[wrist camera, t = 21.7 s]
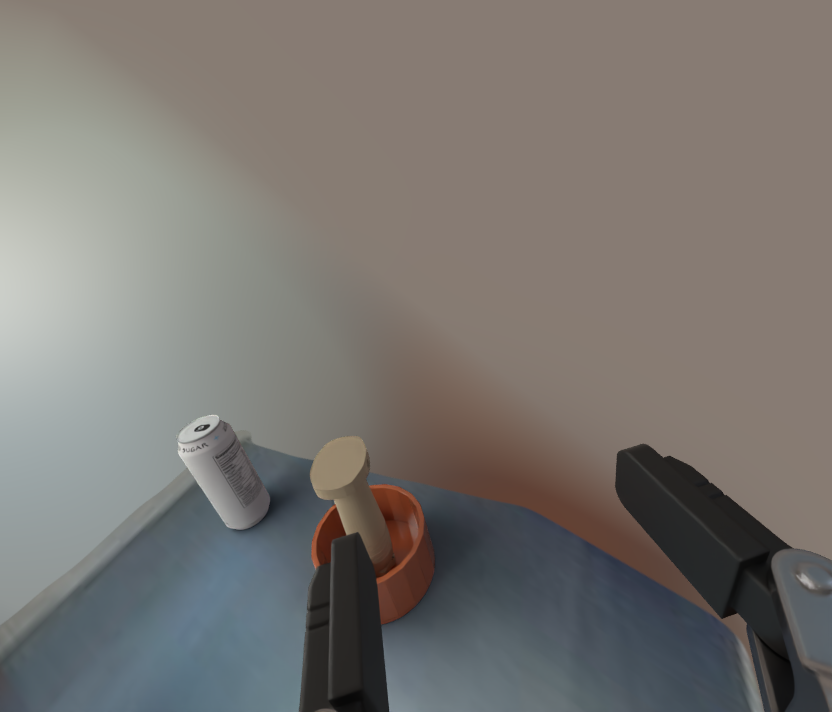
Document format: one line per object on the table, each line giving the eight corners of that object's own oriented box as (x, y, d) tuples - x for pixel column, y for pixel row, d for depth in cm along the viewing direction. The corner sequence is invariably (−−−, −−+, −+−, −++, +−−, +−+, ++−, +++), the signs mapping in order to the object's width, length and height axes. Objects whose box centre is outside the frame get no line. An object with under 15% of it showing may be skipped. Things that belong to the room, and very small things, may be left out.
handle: (404, 534, 41) (369, 432, 35) (402, 594, 36) (360, 485, 29) (363, 540, 42) (320, 440, 35) (355, 600, 36) (302, 494, 29)
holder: (402, 503, 46) (391, 468, 43) (456, 574, 37) (446, 536, 34) (317, 558, 42) (298, 523, 39) (354, 654, 33) (333, 617, 30)
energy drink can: (243, 496, 53) (193, 413, 46) (280, 494, 52) (234, 409, 45) (218, 534, 48) (158, 447, 41) (259, 533, 47) (203, 443, 40)
